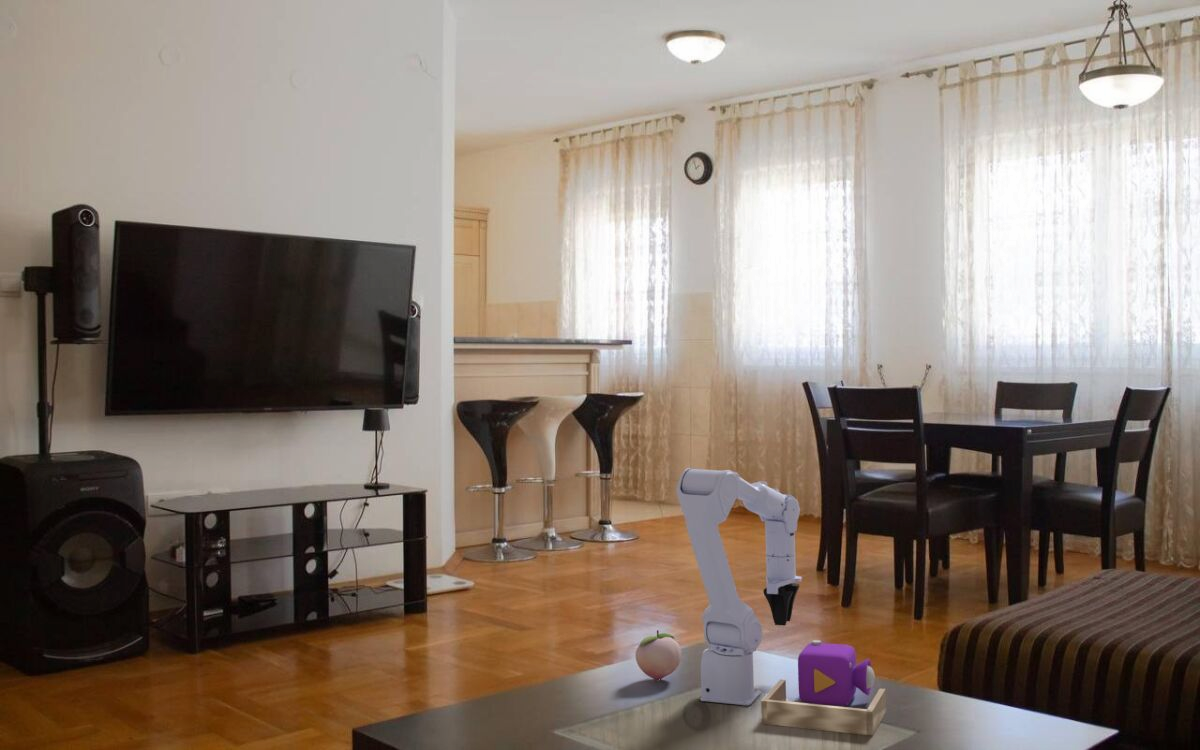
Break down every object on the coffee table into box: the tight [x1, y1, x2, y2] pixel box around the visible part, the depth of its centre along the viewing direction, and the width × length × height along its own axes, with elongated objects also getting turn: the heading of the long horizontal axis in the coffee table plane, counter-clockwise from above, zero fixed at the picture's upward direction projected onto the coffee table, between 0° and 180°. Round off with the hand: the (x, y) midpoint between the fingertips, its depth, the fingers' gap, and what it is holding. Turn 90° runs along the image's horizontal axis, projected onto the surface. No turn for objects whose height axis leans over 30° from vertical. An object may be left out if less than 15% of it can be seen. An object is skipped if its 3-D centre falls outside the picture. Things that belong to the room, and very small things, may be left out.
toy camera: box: [797, 639, 876, 707], centre depth 205 cm, size 11×14×10 cm
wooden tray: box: [760, 679, 887, 736], centre depth 195 cm, size 19×13×4 cm
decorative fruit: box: [634, 629, 682, 681], centre depth 220 cm, size 9×8×10 cm
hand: (782, 622), depth 221 cm, fingers open, 3 cm apart
